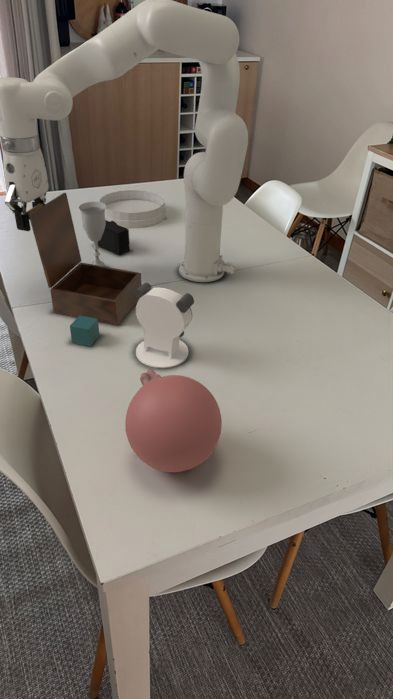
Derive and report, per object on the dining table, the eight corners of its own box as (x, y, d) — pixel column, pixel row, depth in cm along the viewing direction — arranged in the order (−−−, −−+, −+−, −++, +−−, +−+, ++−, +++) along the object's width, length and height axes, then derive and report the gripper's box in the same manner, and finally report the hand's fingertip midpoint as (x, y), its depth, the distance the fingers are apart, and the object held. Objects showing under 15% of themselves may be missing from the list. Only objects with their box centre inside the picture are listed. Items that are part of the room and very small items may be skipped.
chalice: (105, 277, 136) (100, 213, 126) (81, 274, 137) (74, 210, 127) (114, 265, 142) (110, 203, 132) (91, 263, 143) (85, 200, 133)
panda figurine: (199, 346, 112) (202, 286, 103) (177, 375, 104) (178, 312, 95) (151, 332, 116) (150, 273, 107) (126, 359, 107) (122, 297, 99)
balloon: (192, 400, 97) (195, 334, 88) (232, 479, 82) (240, 409, 73) (113, 417, 93) (107, 349, 84) (140, 503, 78) (136, 432, 69)
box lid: (66, 192, 119) (46, 192, 121) (31, 214, 108) (9, 214, 109) (81, 260, 129) (63, 259, 131) (51, 288, 117) (31, 286, 119)
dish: (163, 229, 164) (162, 214, 161) (94, 226, 164) (93, 211, 161) (167, 204, 182) (166, 191, 179) (105, 202, 182) (104, 188, 179)
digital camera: (133, 250, 151) (132, 227, 147) (119, 255, 147) (118, 233, 143) (109, 240, 156) (107, 218, 152) (95, 245, 153) (94, 223, 149)
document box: (141, 294, 130) (141, 272, 126) (117, 325, 118) (115, 302, 114) (83, 284, 133) (80, 262, 129) (53, 312, 121) (50, 289, 118)
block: (99, 335, 114) (98, 318, 112) (90, 346, 111) (88, 329, 108) (81, 331, 115) (79, 315, 112) (71, 342, 112) (69, 325, 109)
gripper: (12, 156, 100) (26, 241, 111) (56, 137, 114) (65, 214, 124) (-21, 151, 102) (-4, 235, 112) (27, 133, 115) (38, 209, 126)
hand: (32, 223), depth 118 cm, fingers open, 6 cm apart
